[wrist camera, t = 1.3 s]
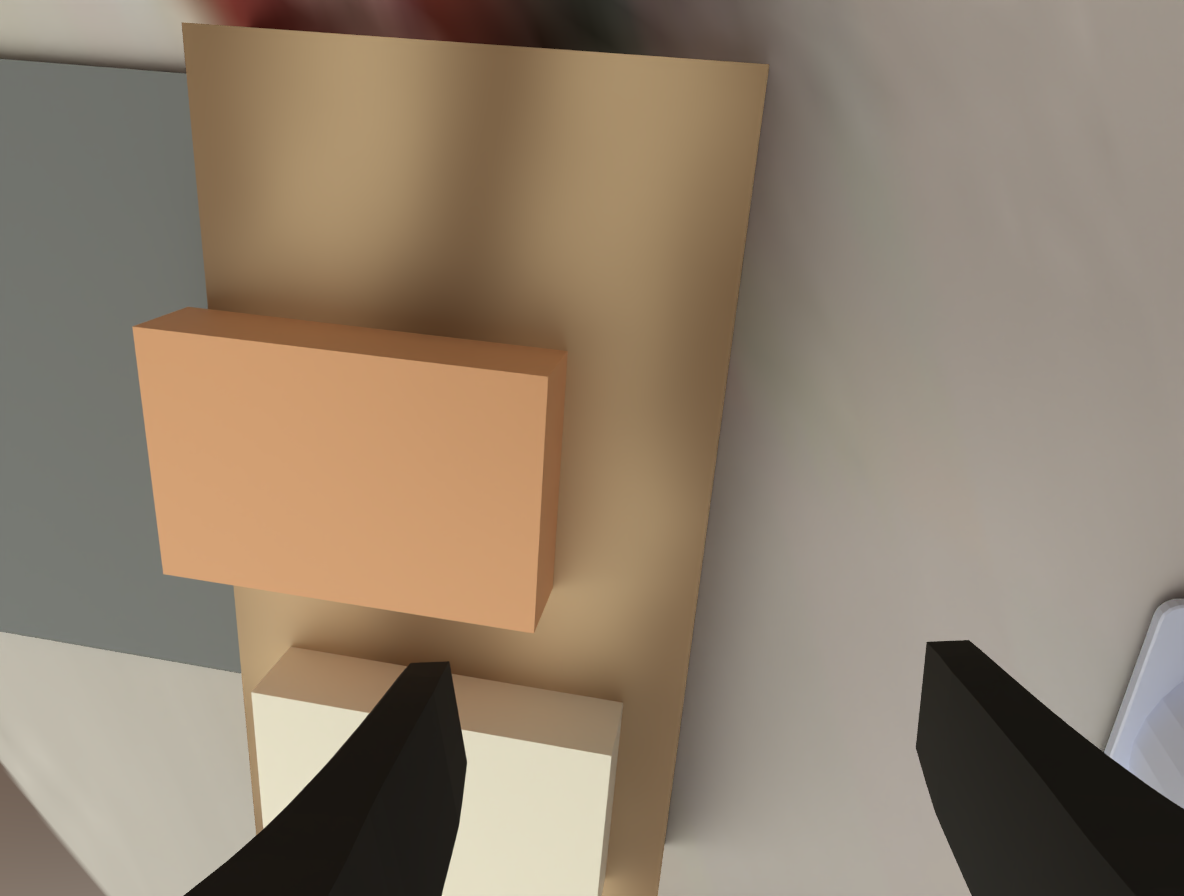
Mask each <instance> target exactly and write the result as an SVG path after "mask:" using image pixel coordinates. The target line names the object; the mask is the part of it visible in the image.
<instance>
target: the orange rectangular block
mask: <svg viewBox="0 0 1184 896" xmlns="http://www.w3.org/2000/svg"><path fill="white" fill-rule="evenodd" d="M132 328H133V336H134V344H135V352H136V360H137V368H138V376H139V384H140V392H141V400H142V408H143V416H144V424H145V432H146V440H147V448H148V456H149V464H150V472H151V480H152V488H153V496H154V504H155V512H156V520H157V528H158V536H159V544H160V552H161V560H162V568H163V574H165V575H172V576H178V577H184V578H190V579H197V580H203V581H209V582H215V583H222V584H228V585H234V586H240V587H247V588H253V589H259V590H265V591H272V592H278V593H284V594H290V595H296V596H303V597H309V598H315V599H321V600H328V601H334V602H340V603H346V604H353V605H359V606H365V607H371V608H378V609H384V610H390V611H396V612H403V613H409V614H415V615H421V616H428V617H434V618H440V619H446V620H452V621H459V622H465V623H471V624H477V625H484V626H490V627H496V628H502V629H509V630H515V631H521V632H527V633H534V632H535V630H536V627H537V625H538V623H539V620H540V618H541V615H542V613H543V611H544V608H545V606H546V603H547V601H548V599H549V596H550V594H551V591H552V589H553V576H554V560H555V545H556V529H557V513H558V497H559V482H560V466H561V450H562V434H563V419H564V403H565V387H566V371H567V355H568V351H563V350H555V349H546V348H538V347H529V346H521V345H512V344H503V343H495V342H486V341H478V340H469V339H461V338H452V337H443V336H435V335H426V334H418V333H409V332H401V331H392V330H383V329H375V328H366V327H358V326H349V325H341V324H332V323H323V322H315V321H306V320H298V319H289V318H281V317H272V316H263V315H255V314H246V313H238V312H229V311H221V310H212V309H203V308H195V307H186V308H183V309H180V310H177V311H175V312H172V313H169V314H166V315H163V316H161V317H158V318H155V319H152V320H149V321H147V322H144V323H141V324H138V325H135V326H132Z"/></svg>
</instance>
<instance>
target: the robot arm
mask: <svg viewBox="0 0 1184 896" xmlns="http://www.w3.org/2000/svg"><path fill="white" fill-rule="evenodd" d="M916 750H917V753H918V756H919V760H920V763H921V767H922V770H923V774H924V777H925V781H926V784H927V787H928V791H929V794H930V797H931V800H932V803H933V806H934V810H935V813H936V815H937V817H938V820H939V822H940V824H941V827H942V829H943V831H944V834H945V836H946V838H947V841H948V843H949V845H950V847H951V850H952V852H953V854H954V857H955V859H956V861H957V863H958V866H959V868H960V870H961V872H962V875H963V877H964V879H965V881H966V884H967V886H968V888H969V890H970V893H971V895H972V896H1184V599H1172V600H1169V601H1166V602H1164V603H1163V604H1161V605H1160V606H1159V607H1158V608H1157V609H1156V611H1155V613H1154V615H1153V618H1152V621H1151V623H1150V626H1149V629H1148V632H1147V634H1146V637H1145V640H1144V643H1143V646H1142V648H1141V651H1140V654H1139V657H1138V659H1137V662H1136V665H1135V668H1134V670H1133V673H1132V676H1131V679H1130V682H1129V684H1128V687H1127V690H1126V693H1125V695H1124V698H1123V701H1122V704H1121V707H1120V709H1119V712H1118V715H1117V718H1116V720H1115V723H1114V726H1113V729H1112V731H1111V734H1110V737H1109V740H1108V743H1107V745H1106V748H1105V751H1104V752H1102V751H1101V750H1100V749H1098V748H1097V747H1096V746H1095V745H1093V744H1092V743H1091V742H1089V741H1088V740H1087V739H1086V738H1084V737H1083V736H1082V735H1080V734H1079V733H1078V732H1077V731H1075V730H1074V729H1073V728H1072V727H1070V726H1069V725H1068V724H1067V723H1066V722H1064V721H1063V720H1062V719H1061V718H1059V717H1058V716H1057V715H1056V714H1055V713H1053V712H1052V711H1051V710H1050V709H1049V708H1047V707H1046V706H1045V705H1044V704H1043V703H1041V702H1040V701H1039V700H1038V699H1037V698H1035V697H1034V696H1033V695H1032V694H1031V693H1030V692H1028V691H1027V690H1026V689H1025V688H1024V687H1023V686H1021V685H1020V684H1019V683H1018V682H1017V681H1016V680H1014V679H1013V678H1012V677H1011V676H1010V675H1009V674H1008V673H1006V672H1005V671H1004V670H1003V669H1002V668H1001V667H1000V666H998V665H997V664H996V663H995V662H994V661H993V660H991V659H990V658H989V657H988V656H987V655H986V654H985V653H983V652H982V651H981V650H980V649H979V648H978V647H976V646H975V645H974V644H973V643H972V642H970V641H969V640H963V641H938V642H927V645H926V655H925V665H924V674H923V684H922V693H921V703H920V713H919V722H918V732H917V742H916ZM466 769H467V758H466V753H465V747H464V741H463V736H462V730H461V724H460V719H459V713H458V707H457V702H456V696H455V690H454V685H453V679H452V673H451V668H450V662H449V661H445V662H420V663H410V664H409V665H408V666H407V667H406V668H405V669H404V670H403V672H402V673H401V674H400V675H399V677H398V678H397V679H396V680H395V682H394V683H393V684H392V685H391V687H390V688H389V689H388V691H387V692H386V693H385V694H384V696H383V697H382V698H381V699H380V701H379V702H378V703H377V704H376V706H375V707H374V708H373V709H372V711H371V712H370V713H369V714H368V715H367V717H366V718H365V719H364V720H363V722H362V723H361V724H360V725H359V727H358V728H357V729H356V730H355V731H354V732H353V734H352V735H351V736H350V737H349V738H348V739H347V741H346V742H345V743H344V744H343V745H342V746H341V748H340V749H339V750H338V751H337V752H336V753H335V755H334V756H333V757H332V758H331V759H330V760H329V762H328V763H327V764H326V765H325V766H324V767H323V768H322V769H321V770H320V771H319V773H318V774H317V775H316V776H315V777H314V778H313V779H312V780H311V781H310V782H309V783H308V784H307V785H306V786H305V787H304V788H303V790H302V791H301V792H300V793H299V794H298V795H297V796H296V797H295V798H294V799H293V800H292V801H291V802H290V803H289V804H288V805H287V806H286V807H285V808H284V809H283V810H282V811H281V812H280V813H279V814H278V815H277V816H276V817H275V818H274V819H273V820H272V821H271V822H270V823H269V824H268V825H267V826H266V827H265V828H264V829H263V830H262V831H261V832H260V833H259V834H257V835H256V836H255V837H254V838H253V839H252V840H251V841H250V842H248V843H247V844H246V845H245V846H244V847H243V848H242V849H241V850H240V851H238V852H237V853H236V854H235V855H234V856H233V857H231V858H230V859H229V860H228V861H227V862H226V863H224V864H223V865H222V866H220V867H219V868H218V869H217V870H215V871H214V872H213V873H212V874H210V875H209V876H208V877H207V878H205V879H204V880H203V881H202V882H200V883H199V884H198V885H196V886H195V887H194V888H193V889H191V890H190V891H189V892H188V893H186V894H185V895H184V896H442V892H443V888H444V884H445V880H446V877H447V873H448V869H449V865H450V861H451V857H452V853H453V849H454V845H455V841H456V836H457V832H458V828H459V823H460V815H461V808H462V801H463V793H464V785H465V777H466Z"/></svg>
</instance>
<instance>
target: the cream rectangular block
mask: <svg viewBox="0 0 1184 896" xmlns="http://www.w3.org/2000/svg"><path fill="white" fill-rule="evenodd" d="M406 667H407V666H403V665H397V664H391V663H385V662H379V661H373V660H367V659H361V658H355V657H349V656H343V655H337V654H331V653H326V652H320V651H314V650H308V649H302V648H296V647H290V648H289V649H288V650H287V651H286V652H285V654H284V655H283V656H282V657H281V658H280V659H279V661H278V662H277V663H276V664H275V665H274V666H273V668H272V669H271V670H270V671H269V672H268V673H267V675H266V676H265V677H264V678H263V679H262V680H261V682H260V683H259V684H258V685H257V686H256V687H255V689H254V690H253V691H252V692H251V695H252V706H253V717H254V729H255V740H256V752H257V763H258V774H259V786H260V797H261V809H262V820H263V829H264V828H265V827H266V826H267V825H268V824H269V823H270V822H271V821H272V820H273V819H274V818H275V817H276V816H277V815H278V814H279V813H280V812H281V811H282V810H283V809H284V808H285V807H286V806H287V805H288V804H289V803H290V802H291V801H292V800H293V799H294V798H295V797H296V796H297V795H298V794H299V793H300V792H301V791H302V790H303V788H304V787H305V786H306V785H307V784H308V783H309V782H310V781H311V780H312V779H313V778H314V777H315V776H316V775H317V774H318V773H319V771H320V770H321V769H322V768H323V767H324V766H325V765H326V764H327V763H328V762H329V760H330V759H331V758H332V757H333V756H334V755H335V753H336V752H337V751H338V750H339V749H340V748H341V746H342V745H343V744H344V743H345V742H346V741H347V739H348V738H349V737H350V736H351V735H352V734H353V732H354V731H355V730H356V729H357V728H358V727H359V725H360V724H361V723H362V722H363V720H364V719H365V718H366V717H367V715H368V714H369V713H370V712H371V711H372V709H373V708H374V707H375V706H376V704H377V703H378V702H379V701H380V699H381V698H382V697H383V696H384V694H385V693H386V692H387V691H388V689H389V688H390V687H391V685H392V684H393V683H394V682H395V680H396V679H397V678H398V677H399V675H400V674H401V673H402V672H403V670H404V669H405V668H406ZM452 679H453V685H454V690H455V696H456V702H457V707H458V713H459V719H460V724H461V730H462V736H463V741H464V747H465V753H466V758H467V769H466V777H465V785H464V793H463V801H462V808H461V815H460V823H459V828H458V832H457V836H456V841H455V845H454V849H453V853H452V857H451V861H450V865H449V869H448V873H447V877H446V880H445V884H444V888H443V892H442V896H602V892H603V886H604V881H605V874H606V864H607V855H608V845H609V835H610V826H611V816H612V806H613V797H614V787H615V777H616V768H617V758H618V748H619V739H620V729H621V719H622V710H623V703H622V702H616V701H610V700H605V699H599V698H593V697H587V696H581V695H575V694H569V693H563V692H557V691H551V690H545V689H539V688H533V687H527V686H521V685H515V684H510V683H504V682H498V681H492V680H486V679H480V678H474V677H468V676H462V675H456V674H452Z"/></svg>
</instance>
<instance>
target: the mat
mask: <svg viewBox="0 0 1184 896" xmlns="http://www.w3.org/2000/svg"><path fill="white" fill-rule="evenodd" d="M186 307H195V308H203V309H208V304H207V293H206V282H205V271H204V260H203V249H202V238H201V227H200V217H199V206H198V195H197V184H196V173H195V162H194V151H193V140H192V130H191V119H190V108H189V97H188V86H187V75H186V73H174V72H162V71H149V70H137V69H124V68H111V67H99V66H86V65H73V64H61V63H48V62H36V61H23V60H10V59H0V632H6V633H12V634H18V635H23V636H29V637H35V638H41V639H46V640H52V641H58V642H64V643H69V644H75V645H81V646H87V647H92V648H98V649H104V650H110V651H115V652H121V653H127V654H133V655H138V656H144V657H150V658H156V659H161V660H167V661H173V662H179V663H184V664H190V665H196V666H202V667H207V668H213V669H219V670H225V671H230V672H236V673H241V662H240V652H239V641H238V630H237V619H236V608H235V597H234V586H233V585H228V584H222V583H215V582H209V581H203V580H197V579H190V578H184V577H178V576H172V575H165V574H163V568H162V560H161V552H160V544H159V536H158V528H157V520H156V512H155V504H154V496H153V488H152V480H151V472H150V464H149V456H148V448H147V440H146V432H145V424H144V416H143V408H142V400H141V392H140V384H139V376H138V368H137V360H136V352H135V344H134V336H133V328H132V326H135V325H138V324H141V323H144V322H147V321H149V320H152V319H155V318H158V317H161V316H163V315H166V314H169V313H172V312H175V311H177V310H180V309H183V308H186Z"/></svg>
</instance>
